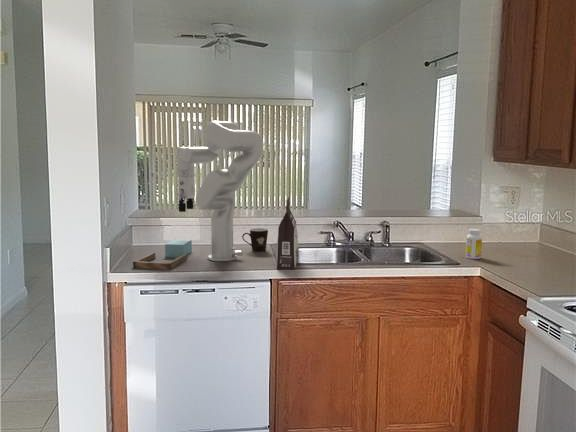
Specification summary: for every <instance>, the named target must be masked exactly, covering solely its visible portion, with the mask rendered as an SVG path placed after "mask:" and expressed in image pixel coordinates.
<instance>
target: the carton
mask: <svg viewBox="0 0 576 432" xmlns="http://www.w3.org/2000/svg"><path fill="white" fill-rule="evenodd" d="M192 243H193V242H192V239H182V238H181V239H176V238H173V239H171V240H170V241H167V242H166V243H165V244H164V252H165V254H164V256H165V258H178V257H180V256H182V255H184V254H187V256H188V255H190V254H191V253H192V252H193V250H192V249H193V248H192V245H193V244H192Z"/></svg>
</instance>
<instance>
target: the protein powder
mask: <svg viewBox="0 0 576 432" xmlns="http://www.w3.org/2000/svg"><path fill="white" fill-rule="evenodd" d="M275 254H276V255H275V257H276V258H275V260H276V261H275V262H276V264H275V265H276V270H296V267H297V262H298V258H299V235H298V229H297V221H296V219H295V218H294V215H293V213H292V210H291V208H290V197H288V198H287V200H286V206H285V214H284V215H283V217H282V219H281V221H280V222H279V225H278V231H277V241H276V251H275Z"/></svg>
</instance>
